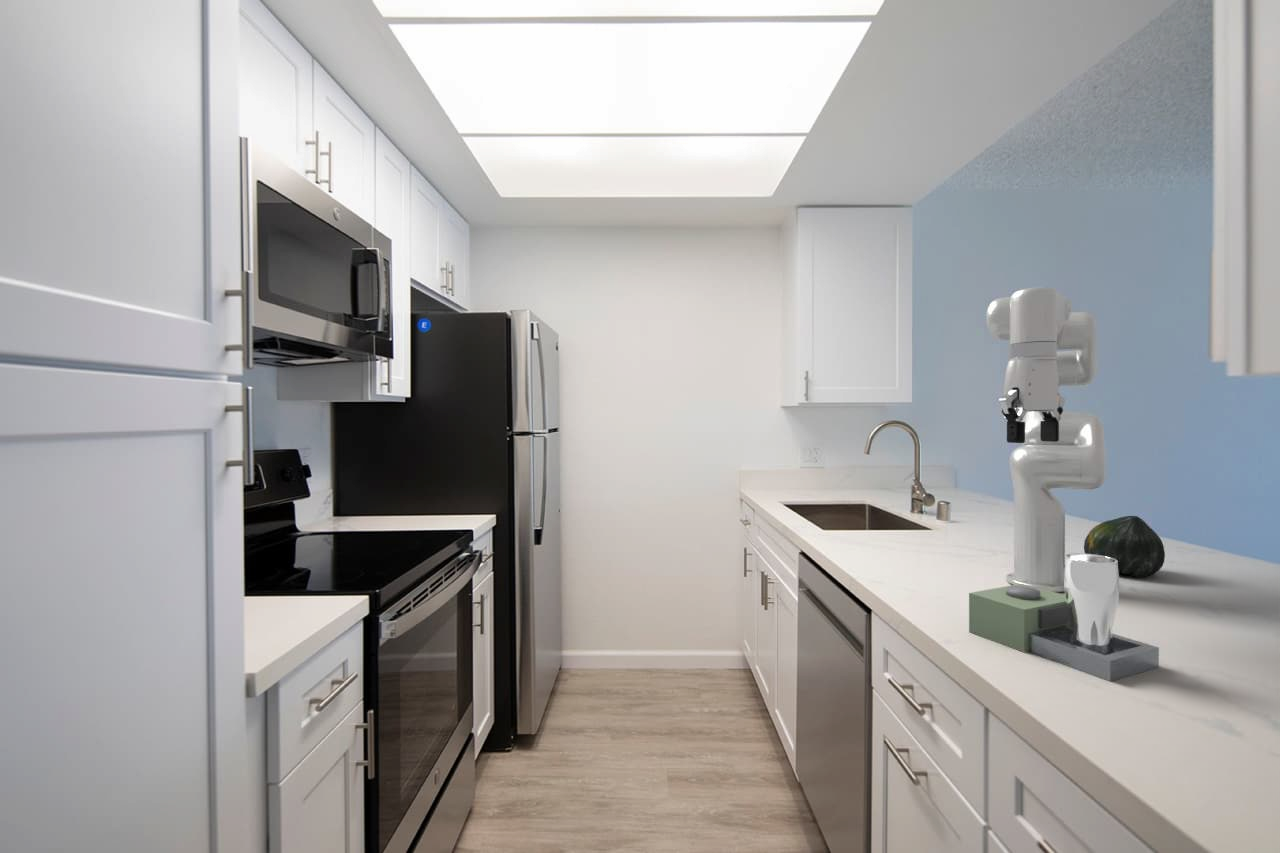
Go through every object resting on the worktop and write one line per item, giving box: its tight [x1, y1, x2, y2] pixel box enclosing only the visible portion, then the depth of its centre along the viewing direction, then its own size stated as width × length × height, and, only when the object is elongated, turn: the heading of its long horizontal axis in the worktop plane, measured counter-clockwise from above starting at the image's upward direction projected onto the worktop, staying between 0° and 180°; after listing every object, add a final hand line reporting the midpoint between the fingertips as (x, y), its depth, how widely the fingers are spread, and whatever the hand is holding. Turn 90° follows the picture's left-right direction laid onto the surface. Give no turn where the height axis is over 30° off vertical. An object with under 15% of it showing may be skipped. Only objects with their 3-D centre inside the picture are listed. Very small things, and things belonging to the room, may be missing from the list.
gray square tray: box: [1028, 624, 1160, 682], centre depth 94 cm, size 12×12×3 cm
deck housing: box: [968, 584, 1070, 653], centre depth 104 cm, size 14×11×8 cm
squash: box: [1083, 515, 1166, 578], centre depth 143 cm, size 14×15×15 cm
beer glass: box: [1064, 552, 1120, 655], centre depth 94 cm, size 7×7×15 cm
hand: (1032, 442), depth 115 cm, fingers open, 9 cm apart
